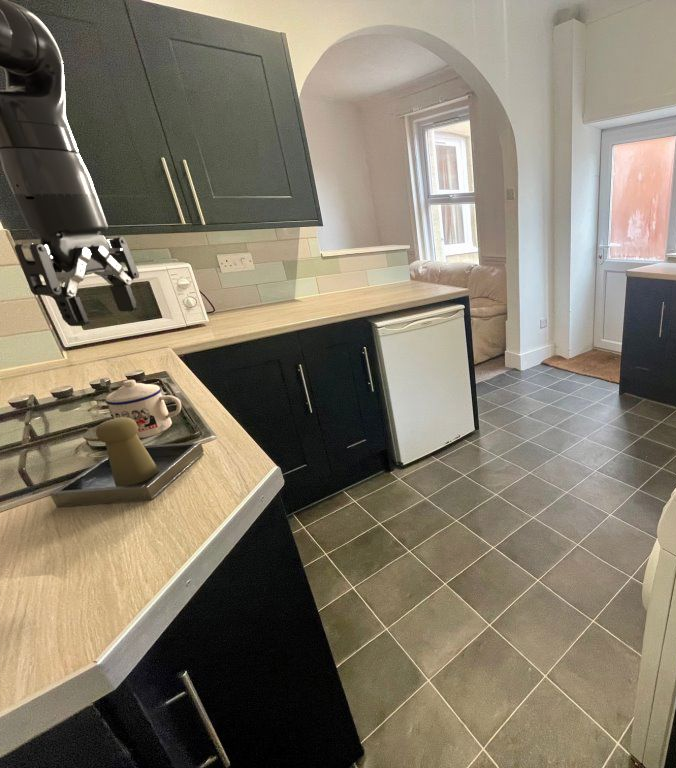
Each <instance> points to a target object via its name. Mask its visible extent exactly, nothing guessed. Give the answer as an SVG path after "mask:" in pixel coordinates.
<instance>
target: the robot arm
mask: <svg viewBox="0 0 676 768" xmlns="http://www.w3.org/2000/svg"><path fill="white" fill-rule="evenodd" d="M63 63H64V61H63V57H62V53H61V50H60V48H59V45H58V43H57V42H56V39H55V38H54V36H53V34H52V33H51V31H50V30H49V29H48V27H47V26H46V25H45V23H44V22H43V21H42V20H41V19H40V18H39V17H38V16H37V15H36V14H35V13H33V12H32V11H30V10H28V9H27V8H26V7H23V6H22V5H19V4H17V3H15V2H12V1H11V0H0V69H3V71H4V73H5V83H6V84H5V89H0V163H1V167H2V171H3V173H4V175H5V179H6V181H7V183H8V185H9V187H10V190H11V192H12V195H13V197H14V199H15V201H16V204H17V206H18V209H19V211H20V214H21V216H22V218H23V220H24V222H25V225H26V227H27V229H28V230H29V231H30V232H31V233H36V235H38V237H39V240H40V243H17V244H15V245H14V251H15V253H16V256H17V258H18V261H19V264H20V266H21V269H22V271H23V274H24V277H25V280H26V282H27V284H28V287H29V290H30V292H31V293H32V294H33V295H35V296H44V297H46V296H47V297H50V298H52V299H53V300H54V302H55V304H56V307H57V309H58V311H59V313H60V315H61V318H62V320H63V321H64V322H65V323H66V324H67V325H68V326H70V327H82V326H83V327H84V326H87V325H89V324H90V320H89V318H88V315H87V313H86V310H85V308H84V305H83V303H82V300H81V298H80V296H77V293H78V288H79V285H80V283H81V282H83V281H84V279H85V276H88V275H92V274H94V275H96V276H100V277H101V278H102V279H103V280H104V281H106V282H107V283H108V284H109V285H111V286H109V288H110V289H109V290H110V292H111V294H112V297H113V299H114V302H115V305H116V308H117V310H118V311H119V312H134V311H136V310H137V309H138V307H137V301H136V299H135V296H134V293H133V290H132V286H131V285H132V283H133V280H136V279H139V278H140V272H139V271H138V268H137V266H136V262H135V260H134V258H133V255H132V253H131V250H130V247H129V245H128V242H127V241H126V238H125V237H122V236H117V237H113V236H111V237H109V236H107V237H105V235H104V233H103V232H104V231H107V230H108V229H109V224H108V222H107V219H106V215H105V214H104V211H103V208H102V205H101V203H100V199H99V196H98V194H97V191H96V189H95V187H94V186H95V185H94V182H93V180H92V177H91V175H90V173H89V171H88V169H87V166H86V165H85V163H84V161H83V159H82V157H81V155H80V152H79V149H78V146H77V143H76V140H75V137H74V135H73V133H72V130H71V127H70V125H69V122H68V119H67V113H66V91H65V74H64V73H65V72H64V64H63ZM122 263H124V265H125V267H126V270H124V267H123V265H122ZM40 275H41V276H42V278H43V281H44V282H45V284H44V283H43V281H42V279H41V276H40ZM63 285H64V286H63Z"/></svg>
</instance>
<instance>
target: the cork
mask: <svg viewBox="0 0 676 768" xmlns="http://www.w3.org/2000/svg"><path fill="white" fill-rule="evenodd" d="M137 431H138V426H137V424H136V422H135V421H134V420H133V419H131V418H127V417H120V418H115V419H114V418H110V419H108V420H105V421H103V422H101V423H100V424H98V426H96V429H95V435H96V438H97V439H98V440H99V442H101V443H104V444H105V449H106V452H107V456H108V457H109V461H110V465H111V469H112V474H113V478H114V482H115V484H116V485H117V486H128V485H133V484H137V483H140V482H142V481H145V480H147V479H149V478H151V477H152V476H154V475H155V474H156V473H157V472H158V467H157V466H156V464H155V463H154V461H153V460H152V458H151V456H150V455H149V453H148V452H147V450H146V449H145V447H144V446H145V445H144V444H143V442H142V440H141V438H138V436H137Z"/></svg>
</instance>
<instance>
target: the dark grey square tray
mask: <svg viewBox="0 0 676 768" xmlns="http://www.w3.org/2000/svg"><path fill="white" fill-rule="evenodd" d="M144 447H145V449H146V450H147V452H148V453H149V455H150V456H151V458H152V460H153V461H154V463H155V464H156V466H157V467H158V472H157V473H156V474H155V475H154V476H152V477H151V478H149V479H147V480H145V481H142V482H140V483H137V484H133V485H128V486H117V485H116V484H115V482H114V478H113V474H112V469H111V465H110V461H109V457H108V455H107V456H105V457H103V458H102V459H101V460H99V461H97V462H95V464H93V465H91V466H90V467H89V468H87V469H86V470H84V471H82V472H81V473H79V474H78V475H76V476H75V477H74V478H72V479H71V480H69V481H68V482H66V483H64V484H63V485H60V487H58V488H57V489H55V490H54V491H52V492H51V493H49V496H50V498H51V499H52V501H53V503H54V505H55V507H56V508H67V507H69V508H70V507H79V506H80V507H81V506H92V505H106V504H108V505H109V504H119V503H130V502H131V503H133V502H142V501H143V502H144V501H153V500H155V499H156V498H157V497H158V496H159V495H160V494H161V493H163V491H165V490H166V489H167V488H168V487H169V486H171V484H172V483H174V482H175V481H177V479H178V478H179V477H181V475H183V474H184V473H185V472H186V471H187V470H189V468H190V467H191V466H193V464H195V463H196V462H198V460H199V459H200V458H201V457H203V455H205V450H204V447H203V445H202V442H201V441H197V442H182V443H181V442H180V443H166V444H152V445H150V444H149V445H144Z"/></svg>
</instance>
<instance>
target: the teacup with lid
mask: <svg viewBox="0 0 676 768" xmlns="http://www.w3.org/2000/svg"><path fill="white" fill-rule="evenodd" d="M165 400H169V401H172V402H174V403H175V406H176V408H175V410H174V412H171V413H169V411H168V407H167V406H166V402H165ZM105 403H106V404H107V405H108V407H109V409H110V411H111V414H112V417H113V419H115V418H120V417H127V418H131V419H133V420H134V421H135V422H136V424H137V426H138V431H137V436H138V438H139V439H144V438H149V437H152V436H155V435H158V434H161V433H162V432H165V431H167V430H168V429H170V427H171V426H172V424H173V421H172V419H171V418H174V417H176V416H177V415H178V414H179V413H180V412H181V410H182V402H181V400H180V399H179V398H178V397H176V396H174V395H172V394H171V395H170V394H167V395H162V388H161V387H160V386H159V385H157V384H153V383H152V384H150V383H142V382H136V380H135V379H128V380H127V379H126V380H125V381H123V382H122V385H121V387H119V388H117V389H116V390H115V391H113V392H111V393H109V394H108V395H106V397H105Z"/></svg>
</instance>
